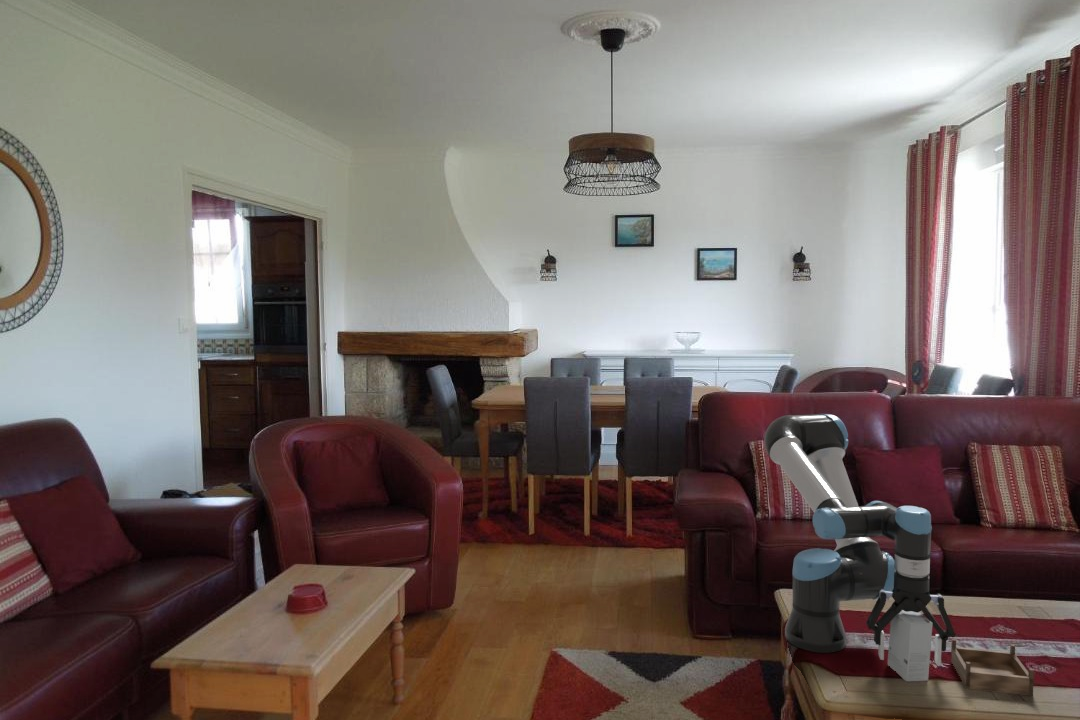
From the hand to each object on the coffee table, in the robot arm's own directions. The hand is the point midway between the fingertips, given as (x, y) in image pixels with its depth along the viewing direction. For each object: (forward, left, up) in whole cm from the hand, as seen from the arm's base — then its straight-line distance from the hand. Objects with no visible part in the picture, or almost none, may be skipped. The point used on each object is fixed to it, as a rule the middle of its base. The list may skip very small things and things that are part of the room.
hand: (909, 660), depth 177 cm
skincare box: (0, 0, -3) cm, 3 cm away
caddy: (+18, +2, -3) cm, 18 cm away
